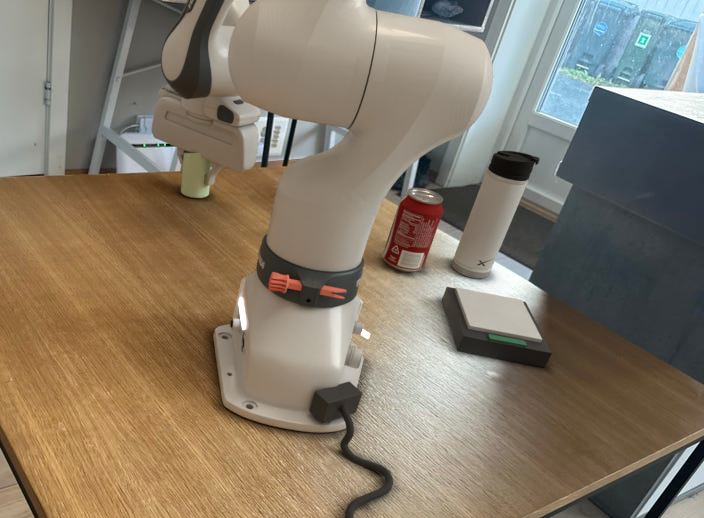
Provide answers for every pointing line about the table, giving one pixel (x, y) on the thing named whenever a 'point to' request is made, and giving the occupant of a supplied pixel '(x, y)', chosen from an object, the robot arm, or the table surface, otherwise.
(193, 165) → the candle
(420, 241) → the soda can
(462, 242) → the travel mug
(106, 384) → the table surface
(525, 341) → the scale
